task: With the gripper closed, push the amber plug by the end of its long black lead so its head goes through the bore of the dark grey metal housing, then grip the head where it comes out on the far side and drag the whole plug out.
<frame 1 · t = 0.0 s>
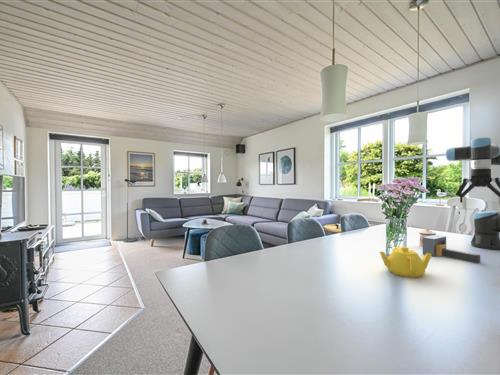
hand: (481, 210, 125), 28 cm above the table, tool pointing down, fingers open, 13 cm apart
teacup with lid: (429, 246, 163), on the table
teapot: (405, 272, 116), on the table
plug: (437, 254, 145), on the table
housing: (434, 253, 146), on the table
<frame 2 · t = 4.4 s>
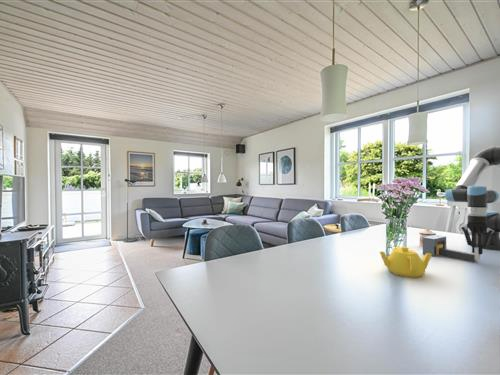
hand: (477, 259, 129), 1 cm above the table, tool pointing down, fingers closed
plug: (434, 253, 146), on the table, touching gripper
everything else where it was.
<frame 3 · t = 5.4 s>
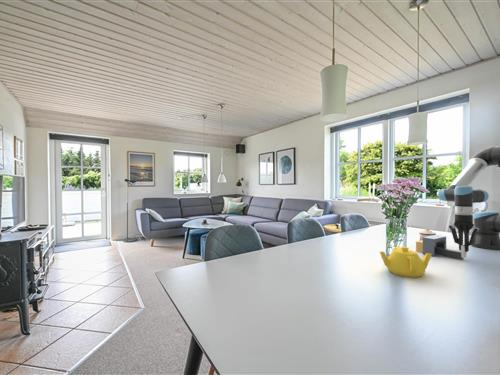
hand: (463, 257, 134), 1 cm above the table, tool pointing down, fingers closed
plug: (423, 251, 151), on the table, touching gripper
everything else where it was.
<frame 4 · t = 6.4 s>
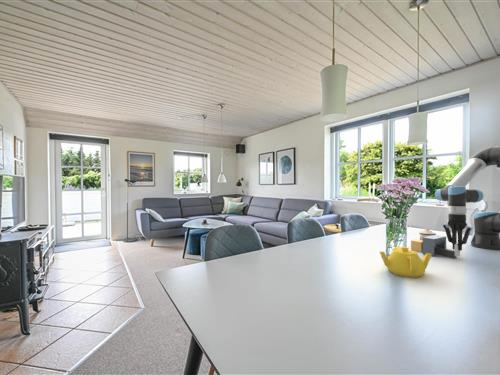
hand: (457, 255, 136), 1 cm above the table, tool pointing down, fingers closed
plug: (418, 250, 154), on the table, touching gripper
everything else where it was.
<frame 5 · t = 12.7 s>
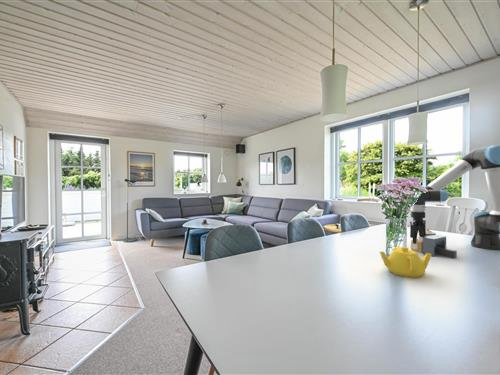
hand: (418, 247, 154), 1 cm above the table, tool pointing down, fingers closed on plug, 6 cm apart
plug: (418, 250, 154), on the table, touching gripper
everything else where it was.
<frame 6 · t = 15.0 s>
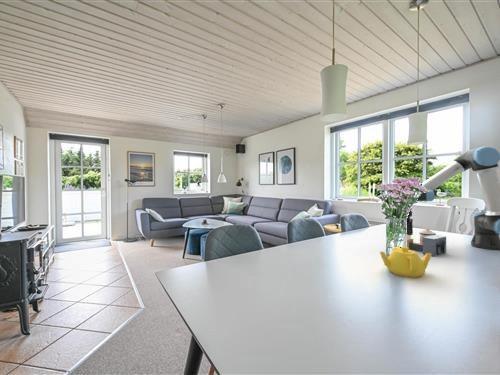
hand: (405, 245, 161), 1 cm above the table, tool pointing down, fingers closed on plug, 6 cm apart
plug: (405, 247, 161), on the table, touching gripper
everything else where it was.
when the fingers open (1 cm above the table, at t = 17.2 s): plug stays where it is, on the table.
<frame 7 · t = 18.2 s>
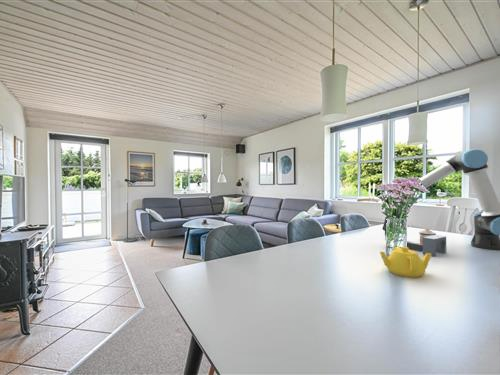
hand: (393, 239, 168), 4 cm above the table, tool pointing down, fingers open, 13 cm apart
plug: (393, 245, 168), on the table
everything else where it was.
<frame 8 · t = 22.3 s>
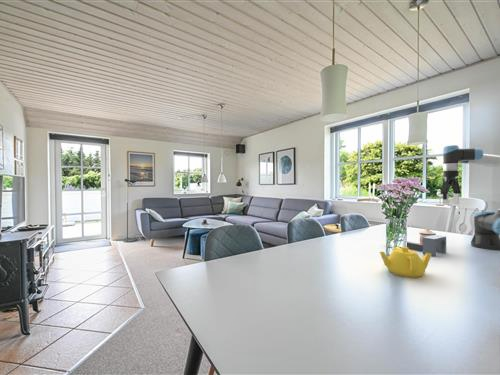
hand: (450, 204, 154), 29 cm above the table, tool pointing down, fingers open, 13 cm apart
nothing on the table moved.
at the end: plug inside the target area on the table beside the housing (1.9 cm from its centre), on the table; plug tilted 0°; the gripper is holding nothing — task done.
